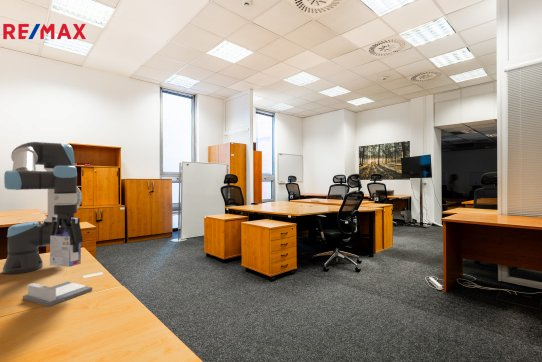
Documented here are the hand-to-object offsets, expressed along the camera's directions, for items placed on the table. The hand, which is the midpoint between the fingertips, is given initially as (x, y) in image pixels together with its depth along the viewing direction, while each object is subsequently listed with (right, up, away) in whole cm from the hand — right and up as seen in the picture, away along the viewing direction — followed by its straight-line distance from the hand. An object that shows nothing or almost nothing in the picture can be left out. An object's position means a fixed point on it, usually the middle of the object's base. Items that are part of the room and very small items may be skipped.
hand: (65, 259), depth 112 cm
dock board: (-1, -13, -2) cm, 14 cm away
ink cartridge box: (0, -2, 0) cm, 2 cm away
